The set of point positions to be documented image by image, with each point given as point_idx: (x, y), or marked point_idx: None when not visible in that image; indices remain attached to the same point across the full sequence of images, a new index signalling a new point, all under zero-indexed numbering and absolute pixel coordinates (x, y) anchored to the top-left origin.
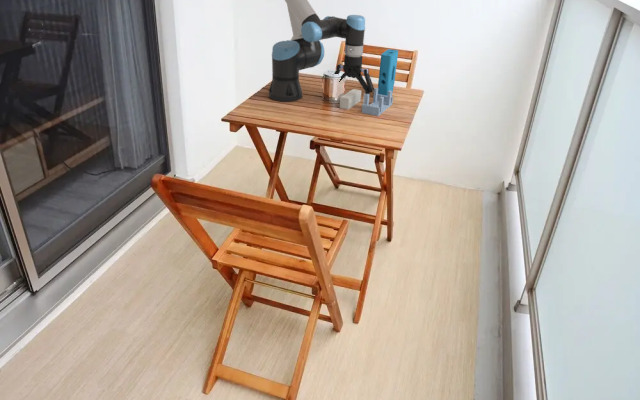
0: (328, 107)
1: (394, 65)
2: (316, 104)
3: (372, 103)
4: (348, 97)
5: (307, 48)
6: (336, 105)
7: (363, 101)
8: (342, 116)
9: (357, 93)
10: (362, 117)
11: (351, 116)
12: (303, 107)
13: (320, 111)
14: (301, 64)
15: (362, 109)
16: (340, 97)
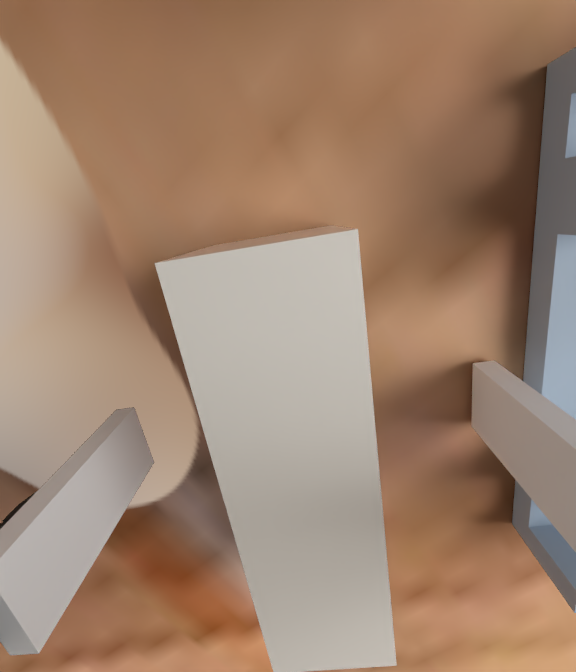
0: (205, 582)
1: None
2: (88, 585)
3: (570, 291)
4: (365, 640)
5: None
6: (220, 514)
7: (520, 477)
8: (406, 649)
9: (373, 423)
10: (558, 593)
11: (466, 620)
12: (82, 666)
13: (221, 660)
14: None
15: (539, 553)
16: (274, 664)
